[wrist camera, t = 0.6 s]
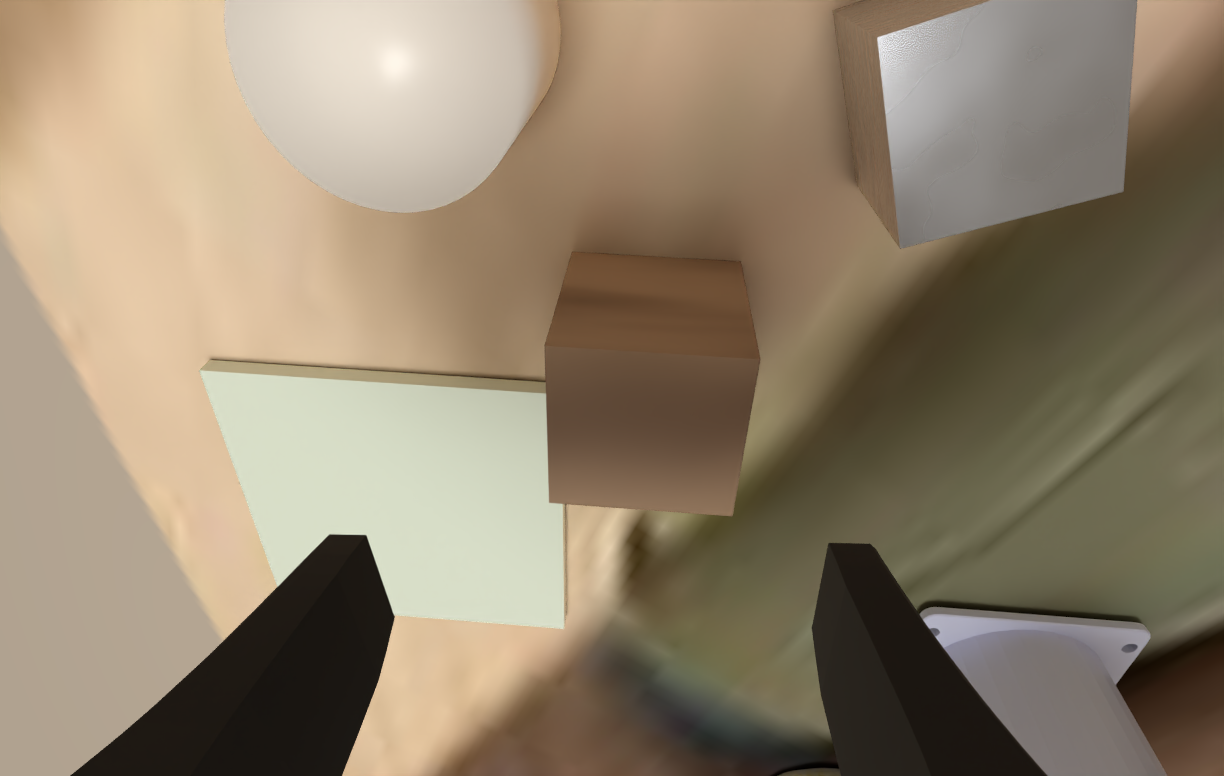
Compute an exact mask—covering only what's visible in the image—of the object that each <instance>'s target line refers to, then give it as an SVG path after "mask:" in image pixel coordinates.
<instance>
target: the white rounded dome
mask: <svg viewBox="0 0 1224 776" xmlns="http://www.w3.org/2000/svg"><path fill="white" fill-rule="evenodd" d="M224 23H225V35H226V44H227V49H228V54H229V59H230V63H231V67H232V70H233V73H234V76H235V79H236V83H237V85H238V87H239V90H240V92H241V94H242V97H243V99H244V101H245V103H246V105H247V107H248V109H249V111H250V112H251V114H252V116H253V118H254V120H255V121H256V123H257V124H258V126H259V127H260V129H261V130H262V131H263V133H264V134H265V136H266V137H267V139H268V140H269V141H270V142H271V143H272V145H273V146H274V147H275V148H276V149H277V150H278V152H279V153H280V154H281V155H282V156H283V157H284V158H285V159H286V160H287V161H288V162H289V163H290V164H291V165H292V166H293V167H294V168H295V169H297V170H298V171H299V172H300V173H302V174H303V175H304V176H305V177H307V178H308V179H309V180H310V181H312V182H313V183H315V184H316V185H318V186H320V187H321V188H323V189H324V190H326V191H327V192H329V193H331V194H333V195H335V196H337V197H339V198H341V199H343V200H346V201H348V202H351V203H354V204H356V205H359V206H362V207H366V208H370V209H374V210H378V211H386V212H394V213H413V212H420V211H427V210H432V209H435V208H439V207H442V206H445V205H448V204H450V203H452V202H454V201H456V200H459V199H461V198H462V197H464V196H465V195H467V194H468V193H470V192H471V191H473V190H474V189H475V188H477V187H478V186H479V185H480V184H481V183H482V182H483V181H484V180H486V179H487V177H488V176H489V175H490V174H491V173H492V171H493V170H494V169H495V168H496V167H497V165H498V164H499V162H500V161H501V160H502V158H503V157H504V155H505V154H506V152H507V151H508V149H509V148H510V147H511V145H512V144H513V142H514V141H515V139H516V138H517V136H518V135H519V134H520V132H521V131H522V129H523V128H524V126H525V125H526V124H527V122H528V121H529V119H530V118H531V116H532V115H533V113H534V112H535V111H536V109H537V108H538V106H539V105H540V103H541V102H542V100H543V98H544V97H545V95H546V94H547V92H548V90H549V88H550V85H551V83H552V81H553V79H554V75H555V72H556V69H557V65H558V60H559V54H560V45H561V26H560V15H559V10H558V4H557V0H225V14H224Z"/></svg>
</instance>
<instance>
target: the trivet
mask: <svg viewBox="0 0 1224 776" xmlns="http://www.w3.org/2000/svg"><path fill="white" fill-rule="evenodd" d="M199 372H200V374H201V377H202V380H203V383H204V385H205V388H206V391H207V394H208V396H209V399H210V402H211V405H212V407H213V410H214V413H215V416H216V418H217V421H218V424H219V427H220V429H221V432H222V435H223V438H224V441H225V443H226V446H227V449H228V452H229V454H230V457H231V460H232V463H233V465H234V468H235V471H236V474H237V476H238V479H239V482H240V485H241V487H242V490H243V493H244V496H245V498H246V501H247V504H248V507H249V510H250V512H251V515H252V518H253V521H254V523H255V526H256V529H257V532H258V534H259V537H260V540H261V543H262V545H263V548H264V551H265V554H266V556H267V559H268V562H269V565H270V568H271V570H272V573H273V576H274V579H275V581H276V584H277V587H278V586H279V585H280V584H281V583H282V582H283V581H284V580H285V579H286V578H287V577H288V576H289V575H290V574H291V573H292V572H293V570H294V569H295V568H296V567H297V566H298V565H299V564H300V563H301V562H302V561H303V560H304V559H305V558H306V557H307V556H308V555H309V554H310V553H311V552H312V551H313V550H314V549H315V548H316V547H317V546H318V545H319V544H320V543H321V542H322V541H323V540H324V539H325V538H326V537H327V536H328V535H329V534H341V535H367V538H368V541H369V544H370V547H371V550H372V553H373V556H374V559H375V561H376V564H377V567H378V570H379V573H380V576H381V579H382V582H383V585H384V588H385V590H386V593H387V596H388V599H389V602H390V605H391V608H392V611H393V614H394V615H398V616H411V617H423V618H435V619H448V620H460V621H473V622H485V623H497V624H510V625H522V626H535V627H547V628H559V629H564V627H565V620H566V544H565V504H557V503H549V486H548V449H547V413H546V382H536V381H521V380H506V379H491V378H476V377H461V376H446V375H430V374H415V373H400V372H385V371H370V370H355V369H340V368H325V367H309V366H294V365H279V364H264V363H249V362H234V361H219V360H209V361H208V362H207V363H206V364H205V365H204V366H203V367H202V368H201V369H200V370H199Z"/></svg>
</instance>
